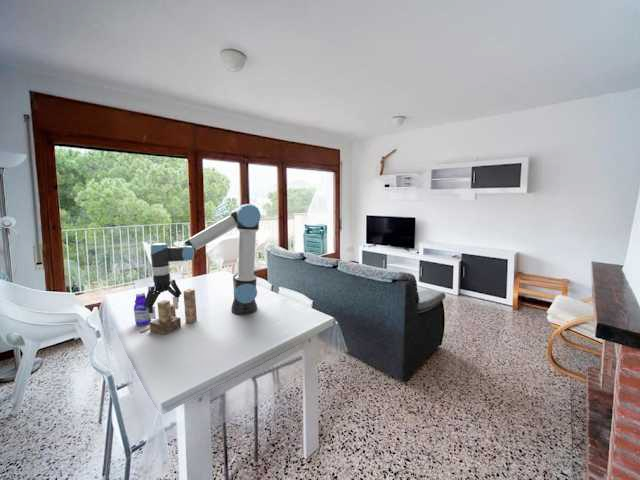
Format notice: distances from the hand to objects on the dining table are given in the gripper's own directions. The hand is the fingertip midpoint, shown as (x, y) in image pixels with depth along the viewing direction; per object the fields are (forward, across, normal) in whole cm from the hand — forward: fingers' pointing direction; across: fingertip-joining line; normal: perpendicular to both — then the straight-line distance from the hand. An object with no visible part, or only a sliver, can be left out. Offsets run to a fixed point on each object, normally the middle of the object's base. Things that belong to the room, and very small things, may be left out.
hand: (165, 313), depth 148 cm
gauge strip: (+9, 0, -9) cm, 12 cm away
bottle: (+9, 0, -18) cm, 20 cm away
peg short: (+9, -12, -11) cm, 18 cm away
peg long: (+9, -12, +5) cm, 15 cm away
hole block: (+9, 0, 0) cm, 9 cm away
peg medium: (+9, 0, 0) cm, 9 cm away
